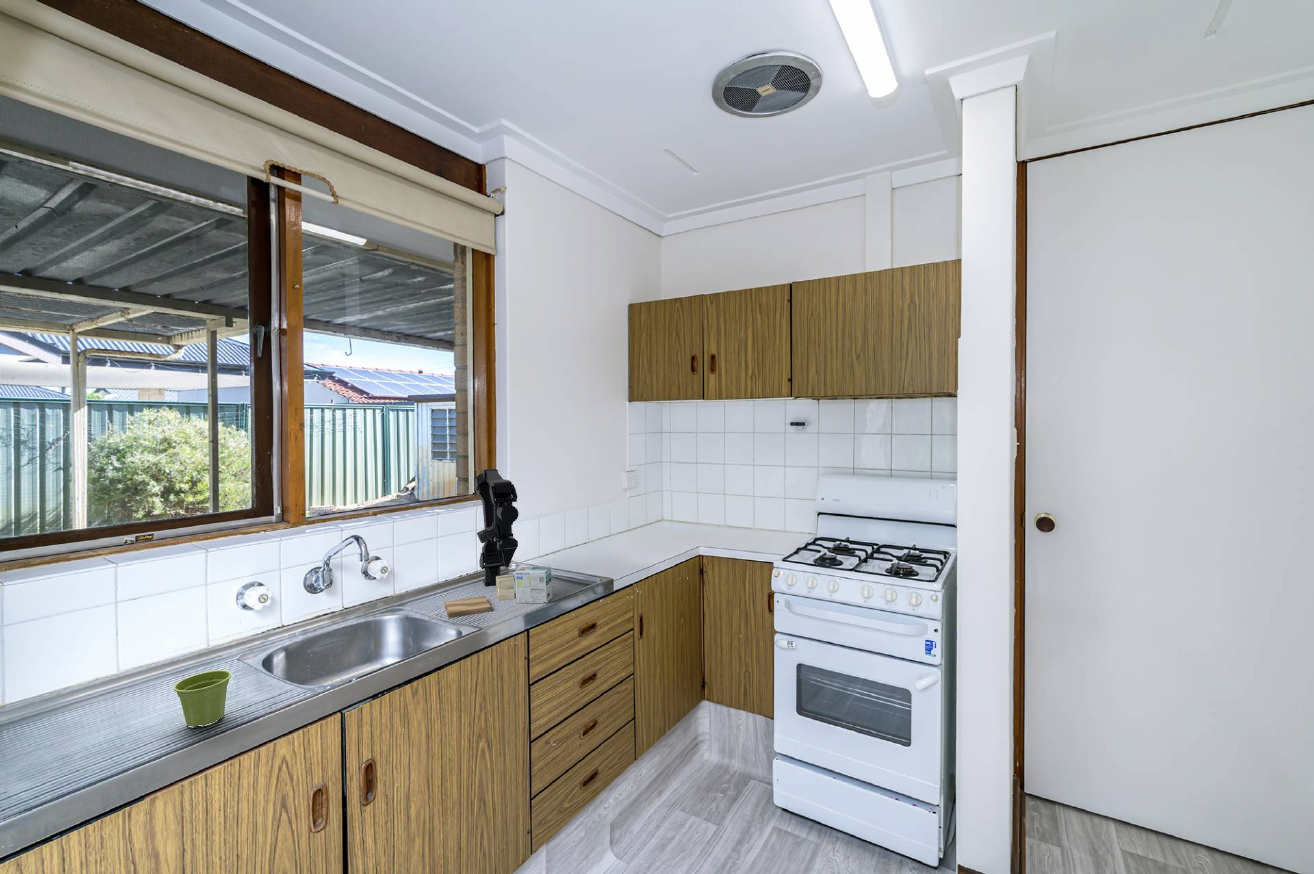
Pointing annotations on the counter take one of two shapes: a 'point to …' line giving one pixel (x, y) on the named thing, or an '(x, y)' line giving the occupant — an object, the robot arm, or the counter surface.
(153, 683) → the counter surface
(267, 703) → the counter surface
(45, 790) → the counter surface
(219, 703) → the plant pot
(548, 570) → the light bulb box
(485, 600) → the tan wooden panel
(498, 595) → the beech block
